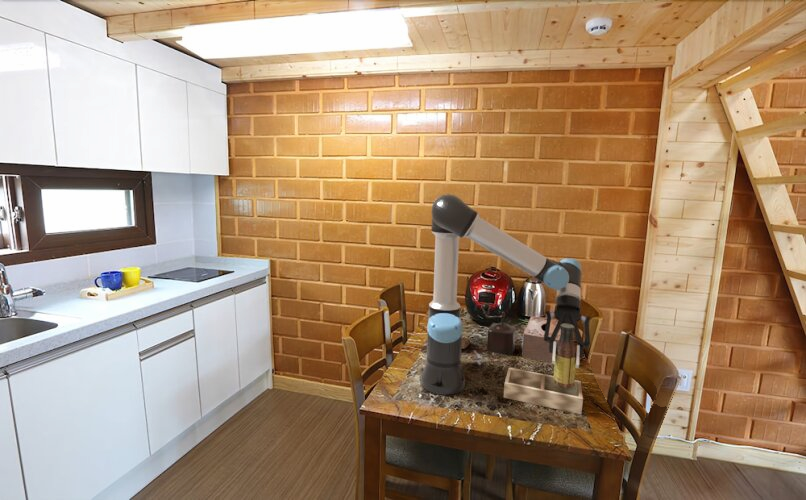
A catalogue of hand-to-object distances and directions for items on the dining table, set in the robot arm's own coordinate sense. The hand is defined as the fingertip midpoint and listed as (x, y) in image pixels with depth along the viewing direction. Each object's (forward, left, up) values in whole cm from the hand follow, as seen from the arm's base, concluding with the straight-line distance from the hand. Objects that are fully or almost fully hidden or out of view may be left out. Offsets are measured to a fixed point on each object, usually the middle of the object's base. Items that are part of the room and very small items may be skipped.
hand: (565, 364), depth 116 cm
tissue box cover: (+30, +34, -14) cm, 48 cm away
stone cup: (-5, +53, -14) cm, 55 cm away
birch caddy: (-1, +7, -14) cm, 15 cm away
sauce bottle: (+3, +2, -9) cm, 9 cm away
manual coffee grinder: (+12, +44, -14) cm, 47 cm away
